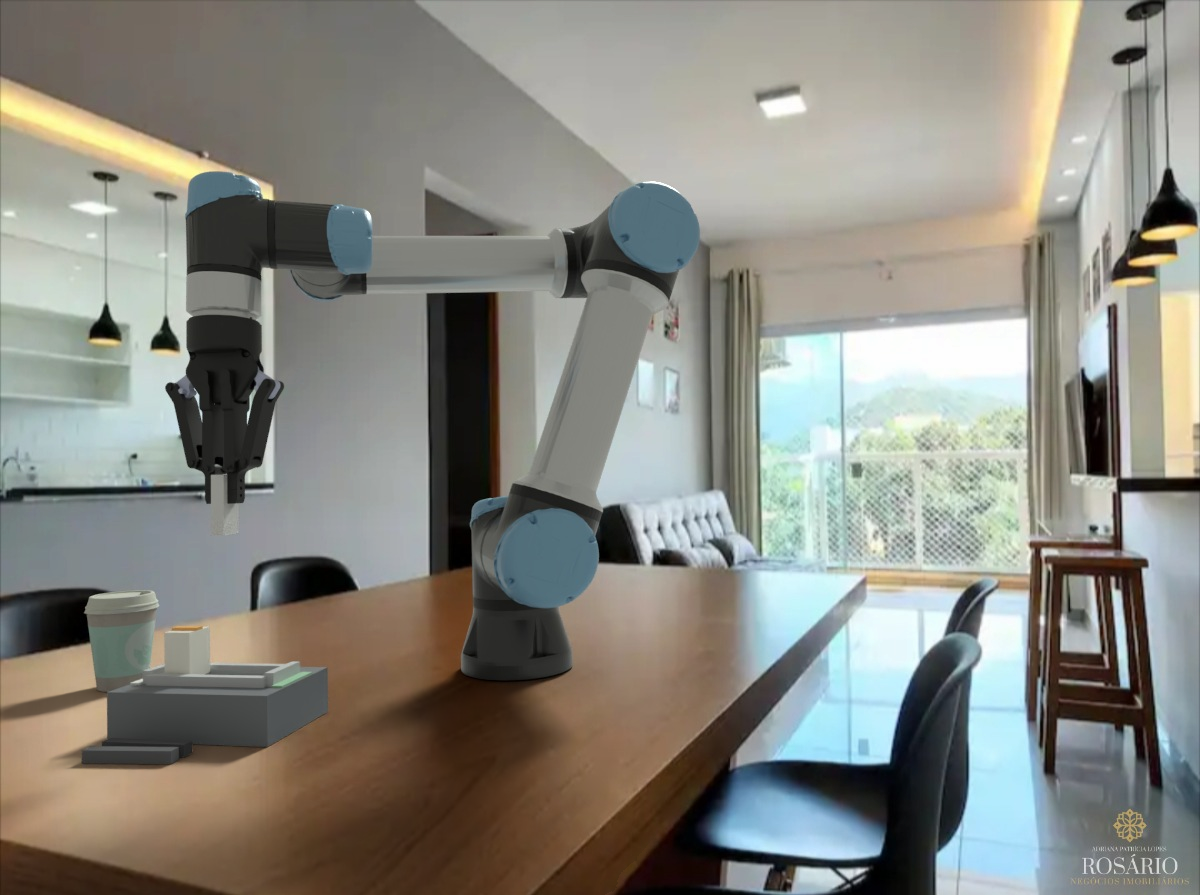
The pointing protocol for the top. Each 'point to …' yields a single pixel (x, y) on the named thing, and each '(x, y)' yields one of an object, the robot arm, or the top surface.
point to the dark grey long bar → (152, 744)
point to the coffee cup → (121, 636)
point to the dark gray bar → (130, 755)
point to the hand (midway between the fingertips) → (225, 534)
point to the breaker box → (219, 704)
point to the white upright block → (187, 650)
